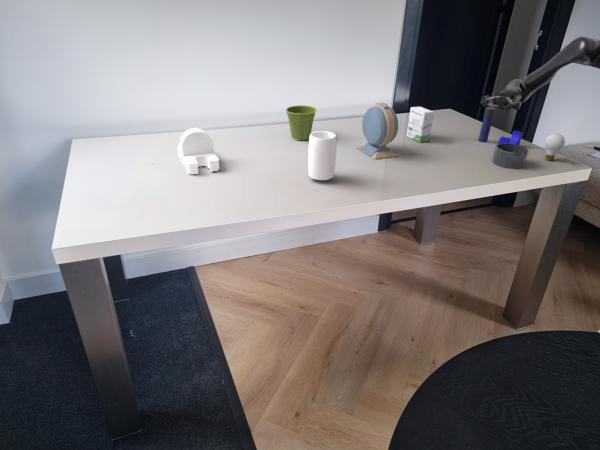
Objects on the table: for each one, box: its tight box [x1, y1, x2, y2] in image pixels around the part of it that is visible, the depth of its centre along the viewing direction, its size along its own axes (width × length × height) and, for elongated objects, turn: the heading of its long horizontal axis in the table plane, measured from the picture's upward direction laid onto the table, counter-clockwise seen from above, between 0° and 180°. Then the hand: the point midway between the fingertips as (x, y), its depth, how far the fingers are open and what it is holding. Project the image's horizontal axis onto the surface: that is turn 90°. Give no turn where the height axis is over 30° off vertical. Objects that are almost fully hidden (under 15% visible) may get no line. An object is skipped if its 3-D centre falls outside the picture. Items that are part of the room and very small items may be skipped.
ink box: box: [406, 106, 435, 143], centre depth 167 cm, size 8×5×12 cm, turn 27°
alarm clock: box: [356, 102, 399, 160], centre depth 152 cm, size 14×10×18 cm
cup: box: [307, 130, 337, 181], centre depth 131 cm, size 8×8×14 cm
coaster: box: [471, 137, 494, 144], centre depth 168 cm, size 8×8×1 cm
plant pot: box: [285, 104, 318, 141], centre depth 165 cm, size 12×12×11 cm
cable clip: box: [498, 130, 524, 145], centre depth 159 cm, size 12×4×6 cm, turn 132°
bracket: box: [176, 127, 221, 174], centre depth 141 cm, size 19×10×11 cm, turn 24°
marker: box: [477, 106, 496, 143], centre depth 164 cm, size 3×3×13 cm
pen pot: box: [491, 143, 529, 170], centre depth 146 cm, size 10×10×6 cm
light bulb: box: [544, 133, 566, 162], centre depth 149 cm, size 6×6×10 cm
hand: (495, 106), depth 165 cm, fingers open, 8 cm apart
